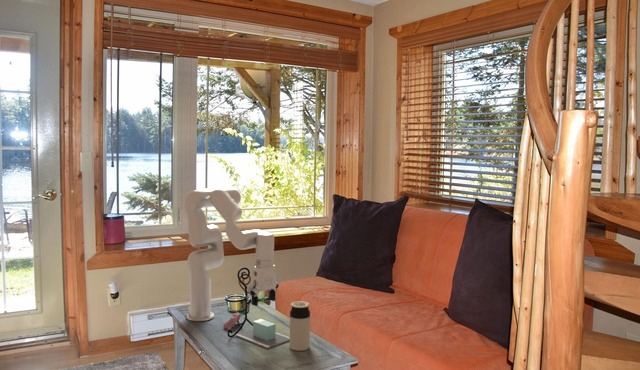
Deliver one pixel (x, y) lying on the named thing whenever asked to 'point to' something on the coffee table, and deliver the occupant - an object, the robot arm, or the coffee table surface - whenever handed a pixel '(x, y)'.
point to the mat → (261, 342)
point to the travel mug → (299, 326)
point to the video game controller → (232, 321)
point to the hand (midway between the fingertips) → (263, 302)
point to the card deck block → (264, 329)
